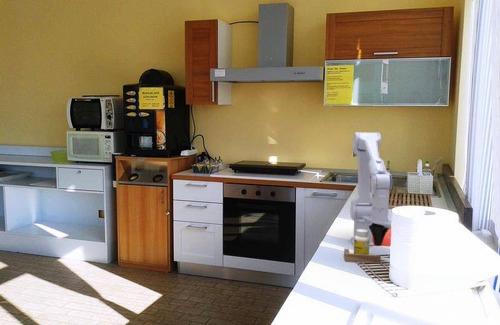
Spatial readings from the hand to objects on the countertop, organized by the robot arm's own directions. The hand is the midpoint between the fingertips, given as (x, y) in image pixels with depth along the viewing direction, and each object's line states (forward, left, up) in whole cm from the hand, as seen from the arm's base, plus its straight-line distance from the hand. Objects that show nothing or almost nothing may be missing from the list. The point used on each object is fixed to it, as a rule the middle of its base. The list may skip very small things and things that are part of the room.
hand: (378, 245), depth 171 cm
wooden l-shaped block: (+1, -5, -5) cm, 8 cm away
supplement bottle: (-2, -5, -5) cm, 8 cm away
